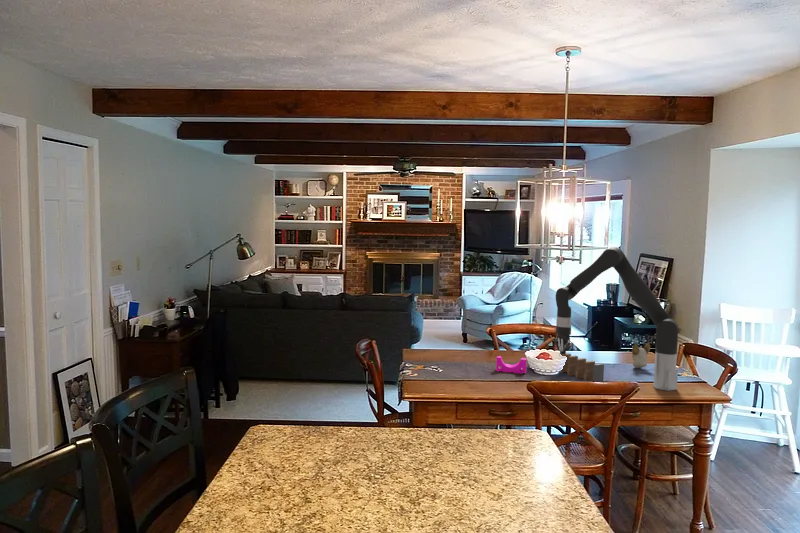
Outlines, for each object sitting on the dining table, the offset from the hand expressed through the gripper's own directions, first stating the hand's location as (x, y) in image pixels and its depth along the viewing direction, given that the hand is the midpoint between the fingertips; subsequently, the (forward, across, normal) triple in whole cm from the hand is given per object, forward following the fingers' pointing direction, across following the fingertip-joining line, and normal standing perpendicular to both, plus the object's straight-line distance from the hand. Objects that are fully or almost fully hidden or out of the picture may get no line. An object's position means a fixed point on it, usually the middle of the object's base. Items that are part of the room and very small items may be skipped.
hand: (562, 358), depth 297 cm
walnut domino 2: (+7, +8, 0) cm, 11 cm away
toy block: (+7, -10, -25) cm, 28 cm away
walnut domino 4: (+7, +20, 0) cm, 21 cm away
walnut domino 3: (+7, +14, 0) cm, 16 cm away
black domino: (+7, +26, 0) cm, 27 cm away
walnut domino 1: (+7, +2, 0) cm, 7 cm away
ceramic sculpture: (+8, +10, +44) cm, 45 cm away
